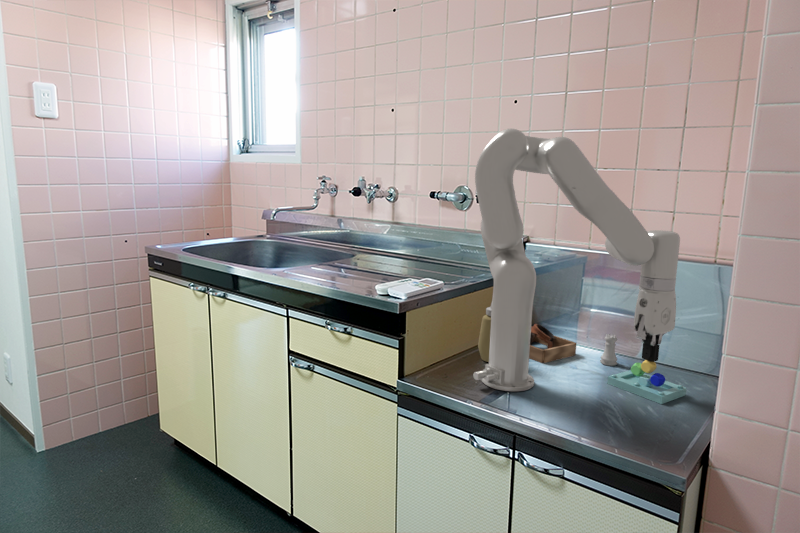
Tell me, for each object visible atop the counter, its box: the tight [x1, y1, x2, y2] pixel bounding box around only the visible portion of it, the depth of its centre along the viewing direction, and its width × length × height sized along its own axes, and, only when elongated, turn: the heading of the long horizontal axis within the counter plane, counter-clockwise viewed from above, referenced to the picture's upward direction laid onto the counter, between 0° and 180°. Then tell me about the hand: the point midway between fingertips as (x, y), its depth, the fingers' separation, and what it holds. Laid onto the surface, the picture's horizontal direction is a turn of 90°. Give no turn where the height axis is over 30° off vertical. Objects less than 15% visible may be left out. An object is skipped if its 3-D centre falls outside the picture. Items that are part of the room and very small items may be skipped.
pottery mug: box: [530, 323, 555, 349], centre depth 156 cm, size 12×10×8 cm
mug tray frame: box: [529, 335, 577, 364], centre depth 155 cm, size 14×16×4 cm
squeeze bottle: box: [477, 302, 492, 363], centre depth 145 cm, size 8×8×18 cm
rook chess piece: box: [599, 333, 618, 367], centre depth 146 cm, size 4×4×8 cm
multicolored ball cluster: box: [630, 359, 666, 387], centre depth 128 cm, size 8×3×6 cm, turn 33°
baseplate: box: [607, 369, 687, 405], centre depth 129 cm, size 10×14×2 cm
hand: (649, 359), depth 128 cm, fingers closed
